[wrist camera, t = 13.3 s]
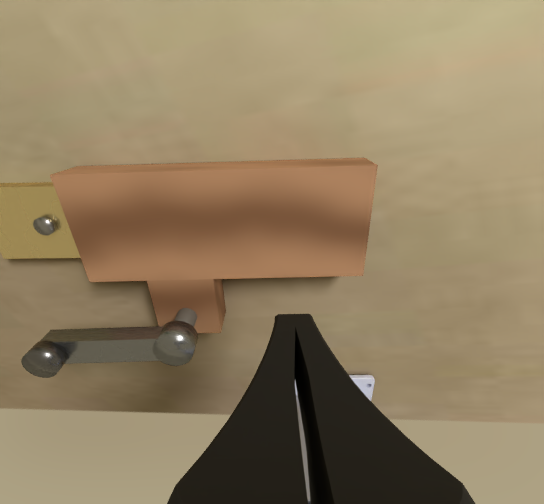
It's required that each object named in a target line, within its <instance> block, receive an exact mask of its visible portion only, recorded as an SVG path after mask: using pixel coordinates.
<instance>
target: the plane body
mask: <svg viewBox="0 0 544 504" xmlns="http://www.w3.org/2000/svg"><path fill="white" fill-rule="evenodd" d="M377 166H378V165H376V164H374V163H373V162H371V161H369V160H367V159H366V158H343V159H309V160H276V161H242V162H209V163H175V164H142V165H108V166H77V167H74V168H71V169H67V170H64V171H61V172H58V173H55V174H51V175H50V177H51V180H52V182H53V185H54V188H55V190H56V193H57V196H58V198H59V201H60V204H61V206H62V209H63V212H64V214H65V217H66V220H67V222H68V225H69V228H70V231H71V233H72V236H73V239H74V241H75V244H76V247H77V249H78V252H79V255H80V257H81V260H82V263H83V265H84V268H85V271H86V273H87V276H88V279H89V281H90V282H113V281H147V284H148V287H149V291H150V295H151V299H152V302H153V306H154V310H155V314H156V317H157V321H158V325H159V326H164V325H165V324H166V323H168V322H170V321H184V322H186V323H189V324H190V325H192V326H193V327H194V328H195V329H196V331H197V333H221V330H222V325H223V321H224V317H225V312H226V308H225V300H224V293H223V285H222V279H241V278H284V277H327V276H363V272H364V264H365V257H366V249H367V242H368V234H369V227H370V219H371V212H372V204H373V196H374V189H375V181H376V174H377Z"/></svg>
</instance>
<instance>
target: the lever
mask: <svg viewBox="0 0 544 504" xmlns="http://www.w3.org/2000/svg"><path fill="white" fill-rule="evenodd" d="M197 340H198V333H197V331H196V329H195V328H194V327H193V326H192V325H190V324H189V323H186V322H184V321H170V322H168V323H166V324H165V325H164V326H156V327H125V328H94V329H62V330H50V331H49V332H48V333H47V334H46V335H45V336H44V338H43V339H42V340H41V341H40V342H38V343H36V344H35V345H34V346H33V347H32V348H31V349H30V350H29V351H28V352H27V353H26V354H25V355H24V356H23V358H22V361H21V362H22V365H23V367H24V368H25V369H26V370H27V371H28V372H29V373H31V374H33V375H35V376H38V377H43V378H48V377H52V376H54V375H56V374H57V372H58V371H59V370H60V369H61V367H62V366H63V365H64V364H68V363H102V362H136V361H161V362H163V363H165V364H168V365H173V366H179V365H183V364H186V363H188V362H189V361H190V360H191V358H192V356H193V353H194V350H195V347H196V344H197Z"/></svg>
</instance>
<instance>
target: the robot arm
mask: <svg viewBox="0 0 544 504" xmlns="http://www.w3.org/2000/svg"><path fill="white" fill-rule="evenodd" d="M374 383H375V380H374V377H373V376H372V375H348V374H347V372H346V371H345V370H344V368H343V367H342V366H341V364H340V363H339V362H338V360H337V359H336V357H335V356H334V354H333V353H332V351H331V350H330V348H329V347H328V345H327V344H326V342H325V340H324V339H323V337H322V335H321V333H320V332H319V330H318V328H317V326H316V324H315V322H314V320H313V318H312V316H311V315H310V314H278V315H277V316H276V317H275V323H274V328H273V331H272V335H271V338H270V341H269V343H268V346H267V349H266V351H265V354H264V356H263V359H262V361H261V363H260V365H259V367H258V369H257V371H256V374H255V376H254V377H253V379H252V381H251V383H250V385H249V387H248V389H247V390H246V392H245V394H244V396H243V397H242V399H241V401H240V402H239V404H238V405H237V407H236V408H235V410H234V412H233V413H232V415H231V416H230V418H229V419H228V421H227V422H226V423H225V425H224V426H223V428H222V429H221V430H220V432H219V433H218V434H217V436H216V437H215V439H214V440H213V441H212V442H211V444H210V445H209V447H208V448H207V449H206V450H205V451H204V453H203V454H202V455H201V457H200V458H199V459H198V460H197V461H196V462H195V463H194V465H193V466H192V467H191V468H190V469H189V470H188V472H187V473H186V474H185V475H184V476H183V478H182V479H181V480H180V481H179V482H178V483H177V484H176V486H175V488H174V490H173V492H172V494H171V496H170V499H169V501H168V503H167V504H475V502H474V501H473V499H472V498H471V496H470V495H469V493H468V491H467V490H466V488H465V487H464V485H463V483H461V482H460V481H459V480H458V479H456V478H455V477H454V476H452V475H451V474H450V473H449V472H448V471H446V470H445V469H444V468H442V467H441V466H440V465H439V464H437V463H436V462H435V461H434V460H433V459H431V458H430V457H429V456H428V455H427V454H425V453H424V452H423V451H422V450H421V449H420V448H419V447H417V446H416V445H415V444H414V443H413V442H412V441H411V440H410V439H408V438H407V437H406V436H405V435H404V434H403V433H402V432H401V431H400V430H399V429H398V428H397V427H396V426H395V425H394V424H393V423H392V422H391V421H390V420H389V419H388V418H387V417H385V416H384V415H383V414H382V413H381V412H380V411H379V410H378V408H377V407H376V406H375V405H374V404H373V403H372V402H371V398H372V393H373V388H374Z"/></svg>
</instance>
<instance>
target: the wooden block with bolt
mask: <svg viewBox="0 0 544 504" xmlns="http://www.w3.org/2000/svg"><path fill="white" fill-rule="evenodd" d="M0 252H1V254H2V256H3V258H4V259H22V258H81V257H80V255H79V252H78V249H77V247H76V244H75V241H74V239H73V236H72V233H71V231H70V228H69V225H68V222H67V220H66V217H65V214H64V212H63V209H62V206H61V204H60V201H59V198H58V196H57V193H56V190H55V188H54V185H53V182H44V183H0Z"/></svg>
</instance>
